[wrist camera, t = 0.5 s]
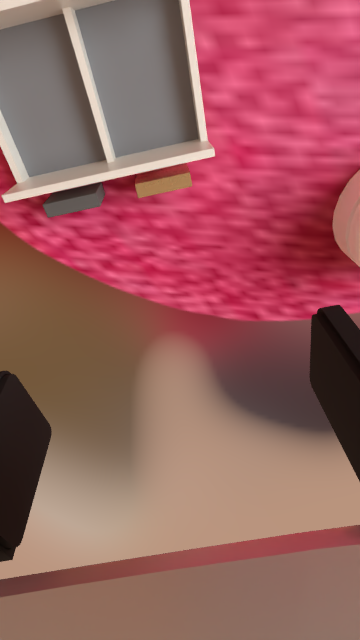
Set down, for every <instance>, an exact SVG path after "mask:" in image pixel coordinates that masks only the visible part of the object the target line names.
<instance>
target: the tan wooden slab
mask: <svg viewBox="0 0 360 640" xmlns="http://www.w3.org/2000/svg"><path fill="white" fill-rule="evenodd" d="M191 186H192V182H191V176H190V171H189V169H188V166H187V164H186V163H184V164H180V165H175V166H171V167H166V168H162V169H157V170H153V171H148V172H144V173H139V174H137V175H136V180H135V187H136V191H137V195H138V198H141V197H145V196H150V195H154V194H159V193H163V192H168V191H173V190H177V189H182V188H186V187H191Z"/></svg>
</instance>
